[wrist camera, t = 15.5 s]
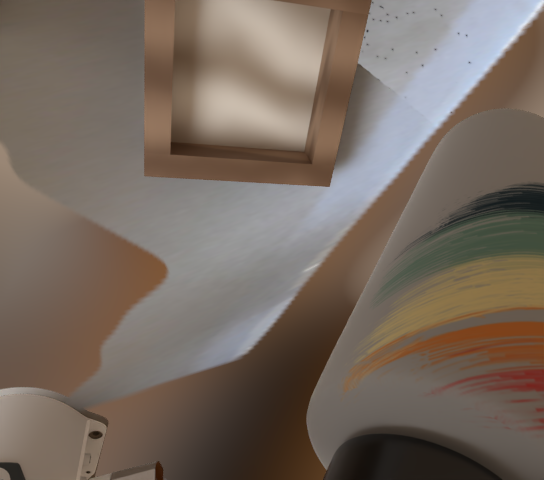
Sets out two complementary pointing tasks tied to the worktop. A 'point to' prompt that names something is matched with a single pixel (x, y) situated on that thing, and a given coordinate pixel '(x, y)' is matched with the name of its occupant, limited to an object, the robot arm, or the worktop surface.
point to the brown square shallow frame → (249, 87)
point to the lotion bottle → (449, 323)
